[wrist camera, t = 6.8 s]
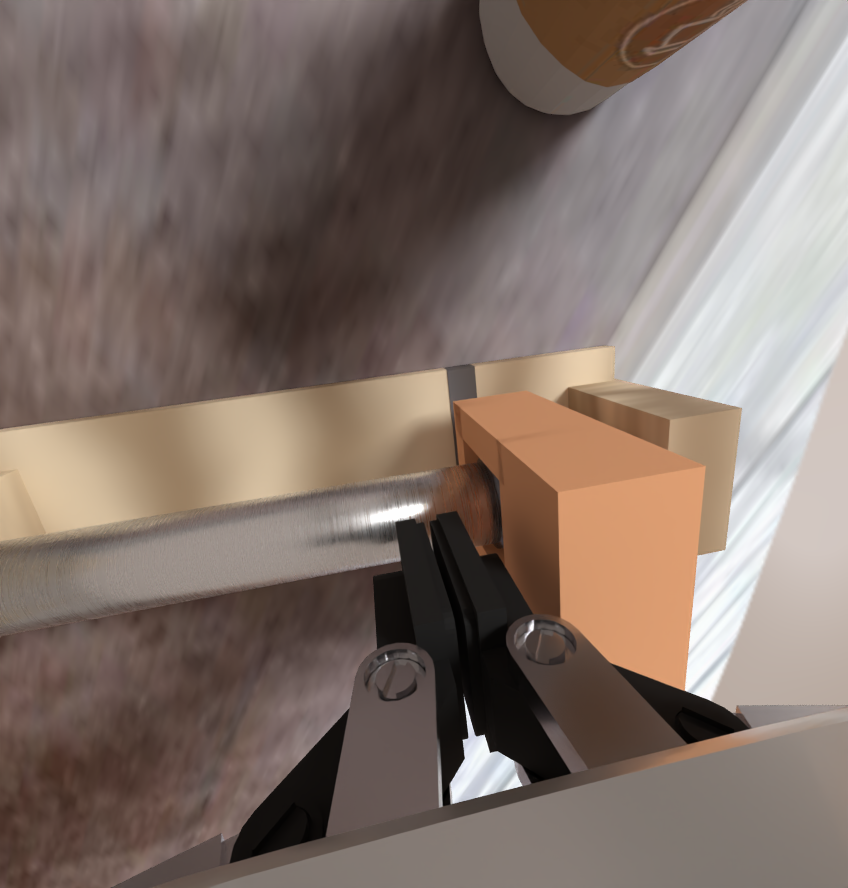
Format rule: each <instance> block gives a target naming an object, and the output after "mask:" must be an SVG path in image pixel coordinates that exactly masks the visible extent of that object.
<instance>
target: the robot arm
mask: <svg viewBox="0 0 848 888" xmlns="http://www.w3.org/2000/svg"><path fill="white" fill-rule="evenodd" d="M395 525H396V532H397V539H398V545H399V552H400V558H401V565H402V571H398V572H392V573H387V574H382V575H377V576H373V584H374V602H375V619H376V637H377V650H375V651H374V652H372V653H371V654H370V655H369V656H367V657H366V658H365V660H364V661H363V662H362V663H361V665H360V666H359V668H358V671H357V674H356V676H355V681H354V687H353V692H352V698H351V703H350V708H349V709H348V710H347V711H346V712H345V713H344V715H343V716H342V717H341V718H340V719H339V720H338V721H337V722H336V723H335V724H334V725H333V727H332V728H331V729H330V730H329V731H328V732H327V733H326V734H325V735H324V736H323V737H322V738H321V740H320V741H319V742H318V743H317V744H316V745H315V746H314V747H313V748H312V749H311V750H310V751H309V753H308V754H307V755H306V756H305V757H304V758H303V759H302V760H301V761H300V762H299V763H298V765H297V766H296V767H295V768H294V769H293V770H292V771H291V772H290V773H289V774H288V775H287V776H286V778H285V779H284V780H283V781H282V782H281V783H280V784H279V785H278V786H277V787H276V788H275V789H274V791H273V792H272V793H271V794H270V795H269V796H268V797H267V798H266V799H265V800H264V801H263V803H262V804H261V805H260V806H259V807H258V808H257V809H256V810H255V811H254V813H253V814H252V815H251V817H250V818H249V819H248V821H247V822H246V823H245V825H244V826H243V827H242V829H241V831H240V833H239V834H237V835H235V836H233V837H231V838H229V839H227V840H225V841H224V838H223V836H222V833H221V834H219V835H217V836H215V837H213V838H211V839H209V840H207V841H205V842H203V843H201V844H199V845H197V846H195V847H193V848H191V849H189V850H187V851H185V852H182V853H180V854H178V855H176V856H174V857H172V858H170V859H168V860H166V861H164V862H162V863H160V864H158V865H156V866H154V867H152V868H150V869H148V870H146V871H144V872H142V873H140V874H138V875H136V876H134V877H132V878H130V879H128V880H126V881H124V882H122V883H120V884H117V885H115V886H113V887H111V888H848V705H770V706H769V705H768V706H767V705H764V706H763V705H762V706H758V705H757V706H756V705H755V706H754V705H753V706H737V708H736V713H731V712H730V711H728V710H727V709H725V708H724V707H722V706H720V705H718V704H716V703H714V702H712V701H709V700H707V699H705V698H702V697H699V696H697V695H694V694H691V693H689V692H686V691H683V690H681V689H678V688H675V687H673V686H670V685H668V684H665V683H662V682H660V681H657V680H654V679H652V678H649V677H646V676H644V675H641V674H638V673H636V672H633V671H631V670H628V669H625V668H623V667H620V666H617V665H615V664H612V663H610V662H609V661H608V660H607V659H606V658H605V657H604V656H603V655H602V654H601V653H600V652H599V651H598V650H597V649H596V648H595V647H594V646H593V645H592V644H591V642H590V641H589V640H588V639H587V638H586V637H585V636H584V635H583V634H582V633H581V632H580V631H579V630H578V629H577V628H576V627H575V626H573V625H572V624H571V623H570V622H568V621H566V620H564V619H562V618H560V617H556V616H552V615H548V614H533V612H532V611H531V609H530V607H529V606H528V604H527V602H526V601H525V599H524V597H523V596H522V594H521V592H520V591H519V589H518V587H517V586H516V584H515V582H514V581H513V579H512V577H511V575H510V574H509V572H508V570H507V569H506V567H505V565H504V564H503V562H502V560H501V559H500V557H499V556H498V554H497V553H492V554H487V555H482V556H480V555H479V553H478V551H477V550H476V548H475V546H474V544H473V542H472V540H471V538H470V536H469V534H468V532H467V530H466V528H465V526H464V524H463V522H462V520H461V518H460V516H459V514H458V513H457V511H453V512H448V513H442V514H436V520H433V521H430V531H431V539H432V546H431V543H430V540H429V537H428V534H427V531H426V528H425V524H424V522H422V523H416V520H415V518H414V519H408V520H402V521H397V522H395ZM432 547H433V549H432ZM464 697H465V701H466V704H467V708H468V711H469V715H470V718H471V722H472V726H473V729H474V732H475V735H476V736H480V735H484V734H485V737H486V740H487V744H488V747H489V750H490V753H491V752H496V751H498V752H500V753H502V754H503V755H505V756H507V757H508V758H510V759H512V760H514V763H515V769H516V772H517V775H518V777H519V780H520V782H521V783H522V785H523V786H521V787H517V788H514V789H510V790H506V791H502V792H498V793H494V794H490V795H486V796H482V797H478V798H475V799H471V800H467V801H463V802H459V803H455V804H452V792H451V784H450V783H451V781H452V779H453V778H454V776H455V774H456V772H457V771H458V769H459V767H460V766H461V764H462V762H463V761H464V759H465V757H464V748H463V739H468V729H467V721H466V712H465V703H464Z"/></svg>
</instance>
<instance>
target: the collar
mask: <svg viewBox="0 0 848 888" xmlns="http://www.w3.org/2000/svg"><path fill="white" fill-rule="evenodd" d="M453 409H454V419H455V429H456V439H457V449H458V460H459V465H463V464H469V463H475V462H477V460H478V458H480V459H481V460H482V461H483V463H484V464H485V465H486V466H487V467H488V468H489V469H490V471H491V472H492V473H493V474H494V475H495V476H496V477H497V479H498V480H499V485H500V500H501V514H502V529H503V544H504V548H501V549H498V548H496V547H495V546H494V545H493V544H489V545H484V546H478V547H475V548H476V550H477V551H478V553H479V555H480V556H482V555H487V554H492V553H497V554H498V556H499V557H500V559H501V560H502V562H503V564H504V565H505V567H506V569H507V570H508V572H509V574H510V575H511V577H512V579H513V581H514V582H515V584H516V586H517V587H518V589H519V591H520V592H521V594H522V596H523V597H524V599H525V601H526V602H527V604H528V606H529V607H530V609H531V611H532V612H533V614H548V615H552V616H556V617H560V618H562V619H564V620H566V621H568V622H570V623H571V624H572V625H573V626H575V627H576V628H577V629H578V630H579V631H580V632H581V633H582V634H583V635H584V636H585V637H586V638H587V639H588V640H589V641H590V642H591V644H592V645H593V646H594V647H595V648H596V649H597V650H598V651H599V652H600V653H601V654H602V655H603V656H604V657H605V658H606V659H607V660H608V661H609V662H610V663H612V664H615V665H617V666H620V667H623V668H625V669H628V670H631V671H633V672H636V673H638V674H641V675H644V676H646V677H649V678H652V679H654V680H657V681H660V682H662V683H665V684H668V685H670V686H673V687H675V688H678V689H681V690H683V691H685V681H686V670H687V660H688V649H689V639H690V628H691V617H692V607H693V596H694V586H695V575H696V564H697V554H698V543H699V533H700V522H701V512H702V501H703V490H704V480H705V469H706V466H704V465H702V464H700V463H697V462H695V461H693V460H690V459H688V458H685V457H683V456H681V455H678V454H676V453H674V452H671V451H669V450H666V449H664V448H662V447H659V446H657V445H655V444H652V443H650V442H647V441H645V440H643V439H640V438H638V437H636V436H633V435H631V434H628V433H626V432H624V431H621V430H619V429H617V428H614V427H612V426H609V425H607V424H605V423H602V422H600V421H598V420H595V419H593V418H590V417H588V416H586V415H583V414H581V413H579V412H576V411H574V410H571V409H569V408H567V407H564V406H562V405H560V404H557V403H555V402H552V401H550V400H548V399H545V398H543V397H541V396H538V395H536V394H533V393H531V392H529V391H520V392H513V393H506V394H499V395H493V396H486V397H479V398H472V399H466V400H459V401H453Z"/></svg>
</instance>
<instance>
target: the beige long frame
mask: <svg viewBox="0 0 848 888" xmlns="http://www.w3.org/2000/svg"><path fill="white" fill-rule="evenodd" d="M614 365H615V347H614V346H597V347H590V348H583V349H576V350H569V351H561V352H554V353H547V354H540V355H533V356H525V357H518V358H511V359H504V360H497V361H489V362H482V363H475V364H468V365H461V366H453V367H446V368H439V369H432V370H424V371H417V372H410V373H403V374H396V375H388V376H381V377H374V378H367V379H360V380H352V381H345V382H338V383H331V384H324V385H316V386H309V387H302V388H295V389H288V390H280V391H273V392H266V393H259V394H252V395H244V396H237V397H230V398H223V399H216V400H208V401H201V402H194V403H187V404H180V405H172V406H165V407H158V408H151V409H143V410H136V411H129V412H122V413H115V414H107V415H100V416H93V417H86V418H79V419H71V420H64V421H57V422H50V423H43V424H35V425H28V426H21V427H14V428H7V429H0V541H4V540H10V539H16V538H22V537H28V536H34V535H40V534H46V533H52V532H59V531H65V530H71V529H77V528H83V527H89V526H95V525H101V524H107V523H113V522H119V521H125V520H131V519H137V518H143V517H149V516H155V515H161V514H167V513H173V512H179V511H185V510H191V509H197V508H204V507H210V506H216V505H222V504H228V503H234V502H240V501H246V500H252V499H258V498H264V497H270V496H276V495H282V494H288V493H294V492H300V491H306V490H312V489H318V488H324V487H330V486H336V485H343V484H349V483H355V482H361V481H367V480H373V479H379V478H385V477H391V476H397V475H403V474H409V473H415V472H421V471H427V470H433V469H439V468H445V467H451V466H457V465H459V460H458V449H457V439H456V429H455V419H454V409H453V401H459V400H466V399H472V398H479V397H486V396H493V395H499V394H506V393H513V392H520V391H529V392H531V393H533V394H536V395H538V396H541V397H543V398H545V399H548V400H550V401H552V402H555V403H557V404H560V405H562V406H564V407H567V408H569V409H571V410H574V411H576V412H579V413H581V414H583V415H586V416H588V417H590V418H593V419H595V420H598V421H600V422H602V423H605V424H607V425H609V426H612V427H614V428H617V429H619V430H621V431H624V432H626V433H628V434H631V435H633V436H636V437H638V438H640V439H643V440H645V441H647V442H650V443H652V444H655V445H657V446H659V447H662V448H664V449H666V450H669V451H671V452H674V453H676V454H678V455H681V456H683V457H685V458H688V459H690V460H693V461H695V462H697V463H700V464H702V465H704V466H706V469H705V480H704V490H703V501H702V512H701V522H700V533H699V543H698V554H697V555H702V554H707V553H712V552H717V551H722V550H725V548H726V539H727V531H728V522H729V513H730V505H731V496H732V488H733V479H734V471H735V462H736V454H737V445H738V437H739V428H740V420H741V411H742V408H739V407H735V406H730V405H726V404H722V403H717V402H713V401H709V400H704V399H700V398H696V397H691V396H687V395H683V394H678V393H674V392H670V391H665V390H661V389H657V388H652V387H648V386H644V385H639V384H635V383H631V382H626V381H622V380H618V379H614ZM0 637H1V636H0Z"/></svg>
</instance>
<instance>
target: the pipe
mask: <svg viewBox="0 0 848 888" xmlns="http://www.w3.org/2000/svg"><path fill="white" fill-rule="evenodd" d="M453 511H457V513H458V514H459V516H460V518H461V520H462V522H463V524H464V526H465V528H466V530H467V532H468V534H469V536H470V538H471V540H472V542H473V544H474V546H475V547H478V546H484V545H489V544H493V545H494V546H495V547H496V548H498V549H501V548H504V544H503V529H502V514H501V500H500V485H499V480H498V479H497V477H496V476H495V475H494V474H493V473H492V472H491V471H490V469H489V468H488V467H487V466H486V465H485V464H484V463H483V461H482V460H481V459H480V458H478V460H477V462H475V463H469V464H463V465H457V466H451V467H445V468H439V469H433V470H427V471H421V472H415V473H409V474H403V475H397V476H391V477H385V478H379V479H373V480H367V481H361V482H355V483H349V484H343V485H336V486H330V487H324V488H318V489H312V490H306V491H300V492H294V493H288V494H282V495H276V496H270V497H264V498H258V499H252V500H246V501H240V502H234V503H228V504H222V505H216V506H210V507H204V508H197V509H191V510H185V511H179V512H173V513H167V514H161V515H155V516H149V517H143V518H137V519H131V520H125V521H119V522H113V523H107V524H101V525H95V526H89V527H83V528H77V529H71V530H65V531H59V532H52V533H46V534H40V535H34V536H28V537H22V538H16V539H10V540H4V541H0V636H6V635H11V634H16V633H21V632H27V631H32V630H37V629H43V628H48V627H53V626H59V625H64V624H69V623H75V622H80V621H85V620H91V619H96V618H101V617H106V616H112V615H117V614H122V613H128V612H133V611H138V610H144V609H149V608H154V607H160V606H165V605H170V604H176V603H181V602H186V601H191V600H197V599H202V598H207V597H213V596H218V595H223V594H229V593H234V592H239V591H245V590H250V589H255V588H260V587H266V586H271V585H276V584H282V583H287V582H292V581H298V580H303V579H308V578H314V577H319V576H324V575H330V574H335V573H340V572H345V571H351V570H356V569H361V568H367V567H372V566H377V565H383V564H388V563H393V562H399V561H401V558H400V552H399V545H398V539H397V532H396V525H395V522H397V521H402V520H408V519H414V518H415V520H416V523H422V522H424V524H425V528H426V531H427V534H428V537H429V540H430V543H431V546H432V539H431V531H430V521H433V520H436V514H442V513H448V512H453ZM432 549H433V547H432Z"/></svg>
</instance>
